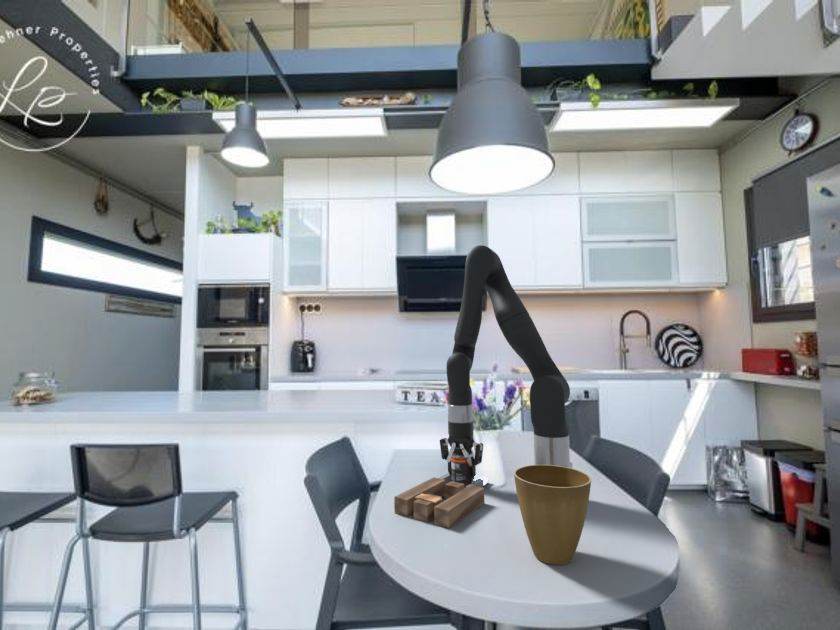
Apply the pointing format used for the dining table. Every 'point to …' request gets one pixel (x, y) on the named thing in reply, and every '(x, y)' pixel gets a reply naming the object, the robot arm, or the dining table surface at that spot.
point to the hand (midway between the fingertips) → (461, 476)
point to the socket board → (439, 501)
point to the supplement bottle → (460, 468)
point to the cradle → (476, 483)
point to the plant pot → (553, 509)
